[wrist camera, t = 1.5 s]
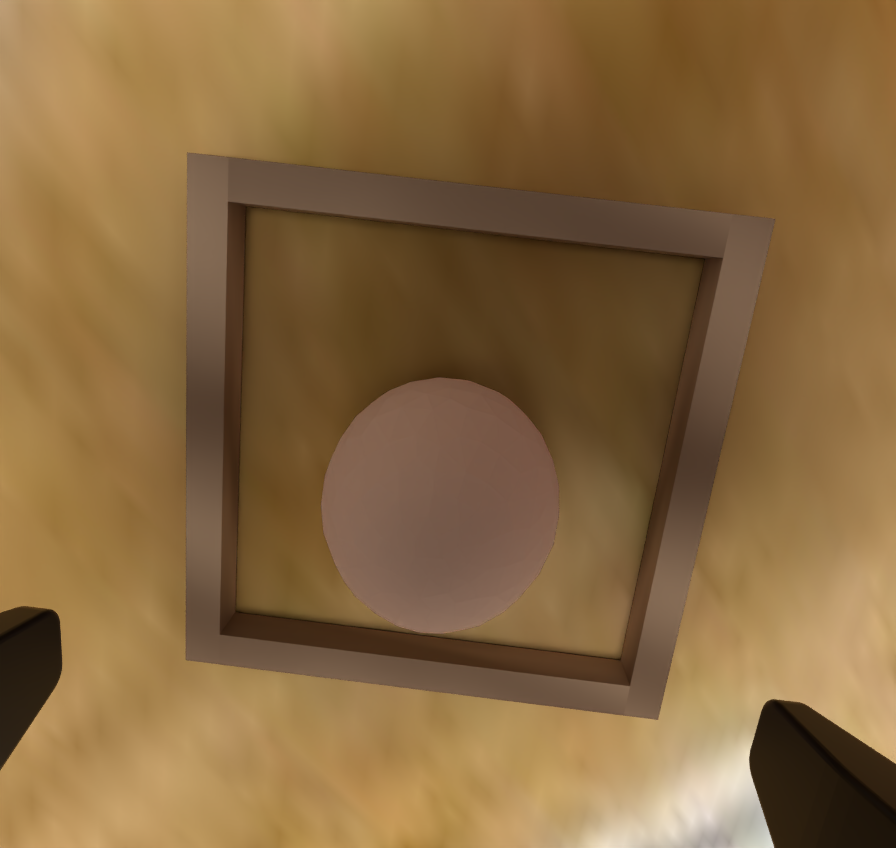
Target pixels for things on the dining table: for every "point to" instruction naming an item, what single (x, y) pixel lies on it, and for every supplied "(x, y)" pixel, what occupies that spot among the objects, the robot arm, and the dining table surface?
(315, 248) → the dining table surface
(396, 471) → the egg
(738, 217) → the walnut frame
